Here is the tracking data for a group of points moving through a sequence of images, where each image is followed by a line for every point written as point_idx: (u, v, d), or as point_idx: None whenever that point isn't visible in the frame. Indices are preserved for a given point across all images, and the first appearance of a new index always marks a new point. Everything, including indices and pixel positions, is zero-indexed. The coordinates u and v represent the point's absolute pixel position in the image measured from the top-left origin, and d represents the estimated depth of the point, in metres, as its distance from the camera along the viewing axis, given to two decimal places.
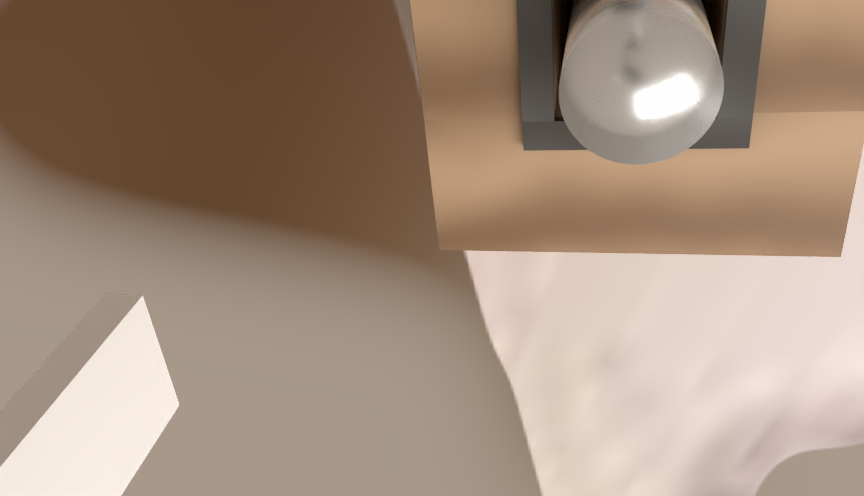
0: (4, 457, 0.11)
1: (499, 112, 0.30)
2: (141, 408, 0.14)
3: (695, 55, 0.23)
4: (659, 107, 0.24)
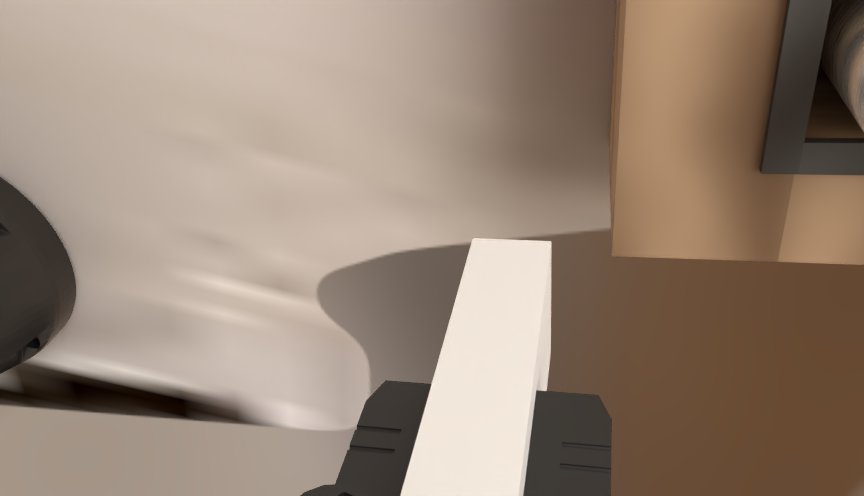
0: (480, 378, 0.12)
1: None
2: None
3: None
4: None
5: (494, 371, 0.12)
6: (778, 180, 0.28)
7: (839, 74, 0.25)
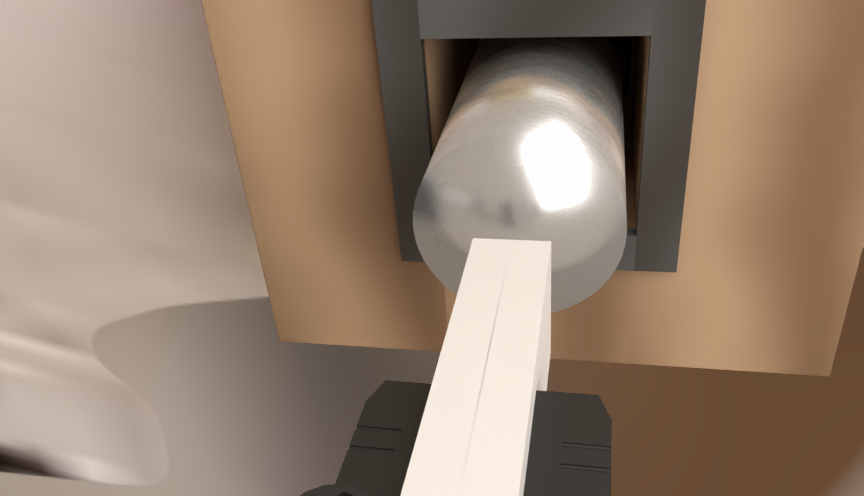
0: (480, 378, 0.12)
1: (624, 287, 0.24)
2: None
3: (465, 168, 0.17)
4: (537, 207, 0.17)
5: (494, 371, 0.12)
6: (427, 267, 0.25)
7: None
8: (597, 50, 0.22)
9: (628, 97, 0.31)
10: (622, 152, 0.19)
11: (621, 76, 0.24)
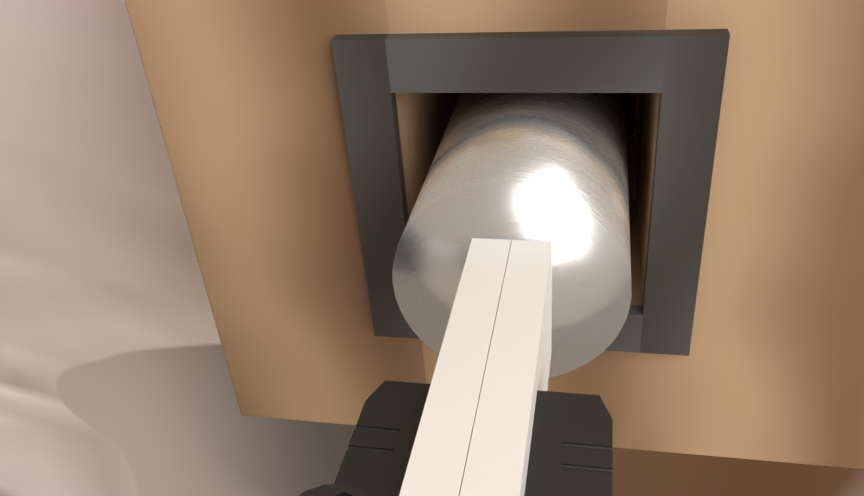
0: (479, 378, 0.12)
1: (628, 368, 0.21)
2: None
3: (450, 223, 0.15)
4: None
5: (495, 371, 0.12)
6: (404, 341, 0.22)
7: None
8: None
9: (633, 137, 0.28)
10: (626, 198, 0.17)
11: (625, 106, 0.22)
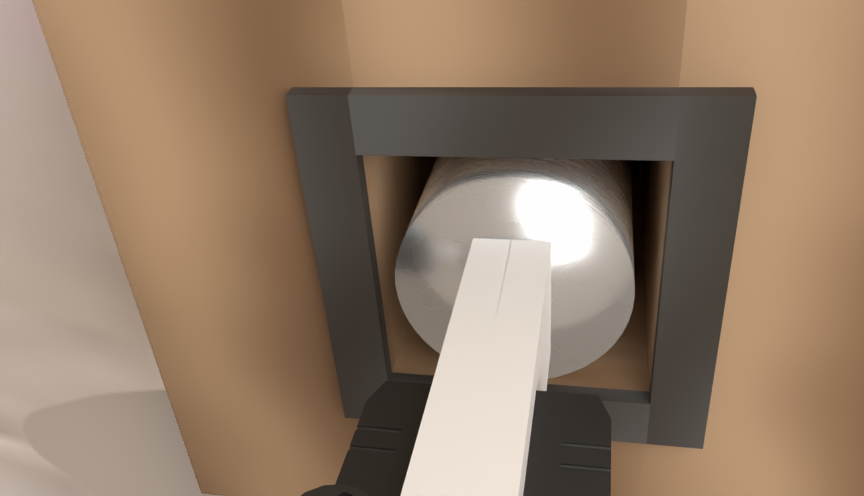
0: (480, 378, 0.12)
1: (633, 457, 0.19)
2: None
3: (453, 223, 0.15)
4: None
5: (494, 371, 0.12)
6: None
7: None
8: None
9: (638, 179, 0.25)
10: (629, 199, 0.17)
11: None
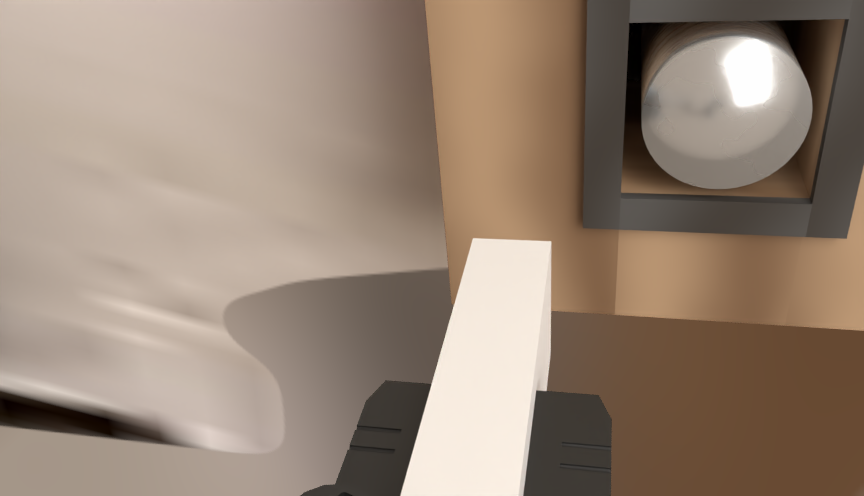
0: (481, 378, 0.12)
1: (791, 253, 0.26)
2: None
3: (691, 69, 0.23)
4: (743, 99, 0.23)
5: (494, 371, 0.12)
6: (604, 234, 0.27)
7: None
8: None
9: None
10: None
11: None
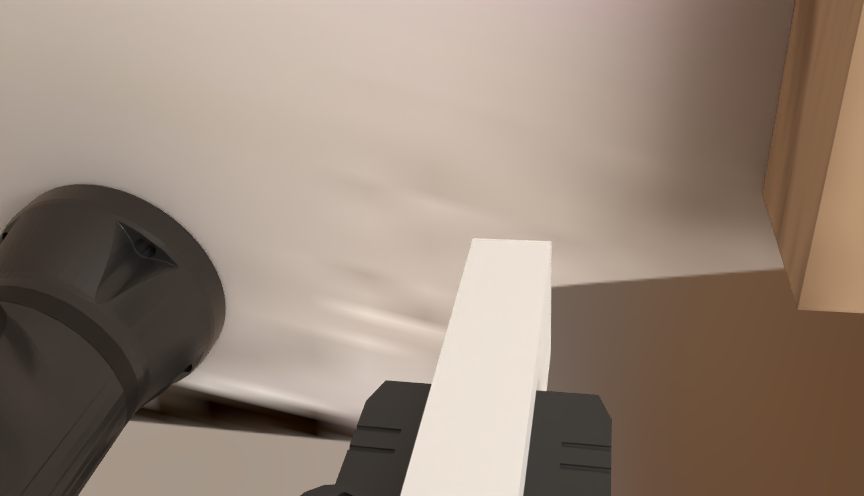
0: (481, 378, 0.12)
1: None
2: None
3: None
4: None
5: (494, 371, 0.12)
6: None
7: None
8: None
9: None
10: None
11: None
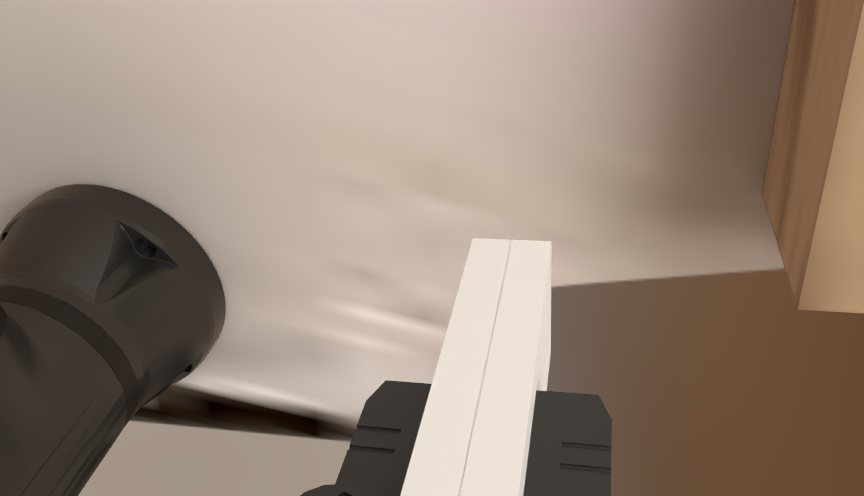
0: (481, 378, 0.12)
1: None
2: None
3: None
4: None
5: (494, 371, 0.12)
6: None
7: None
8: None
9: None
10: None
11: None
